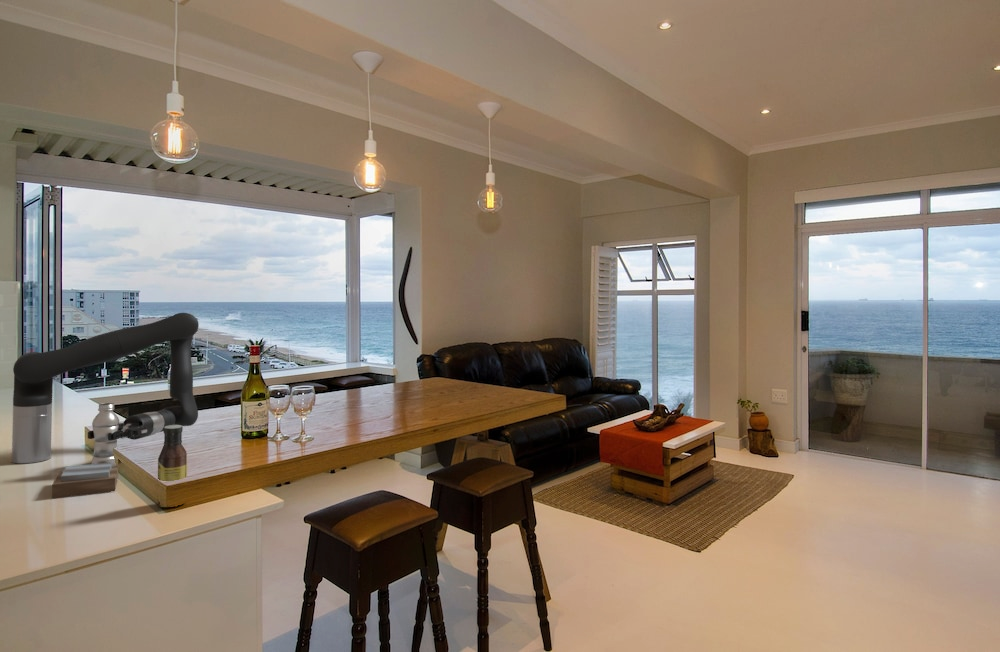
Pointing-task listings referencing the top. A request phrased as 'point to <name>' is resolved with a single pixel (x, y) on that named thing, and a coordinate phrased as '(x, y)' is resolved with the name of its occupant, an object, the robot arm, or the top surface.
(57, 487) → the plinth
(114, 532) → the top surface
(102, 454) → the silver bottle
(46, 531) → the top surface
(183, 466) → the sauce bottle
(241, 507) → the top surface
